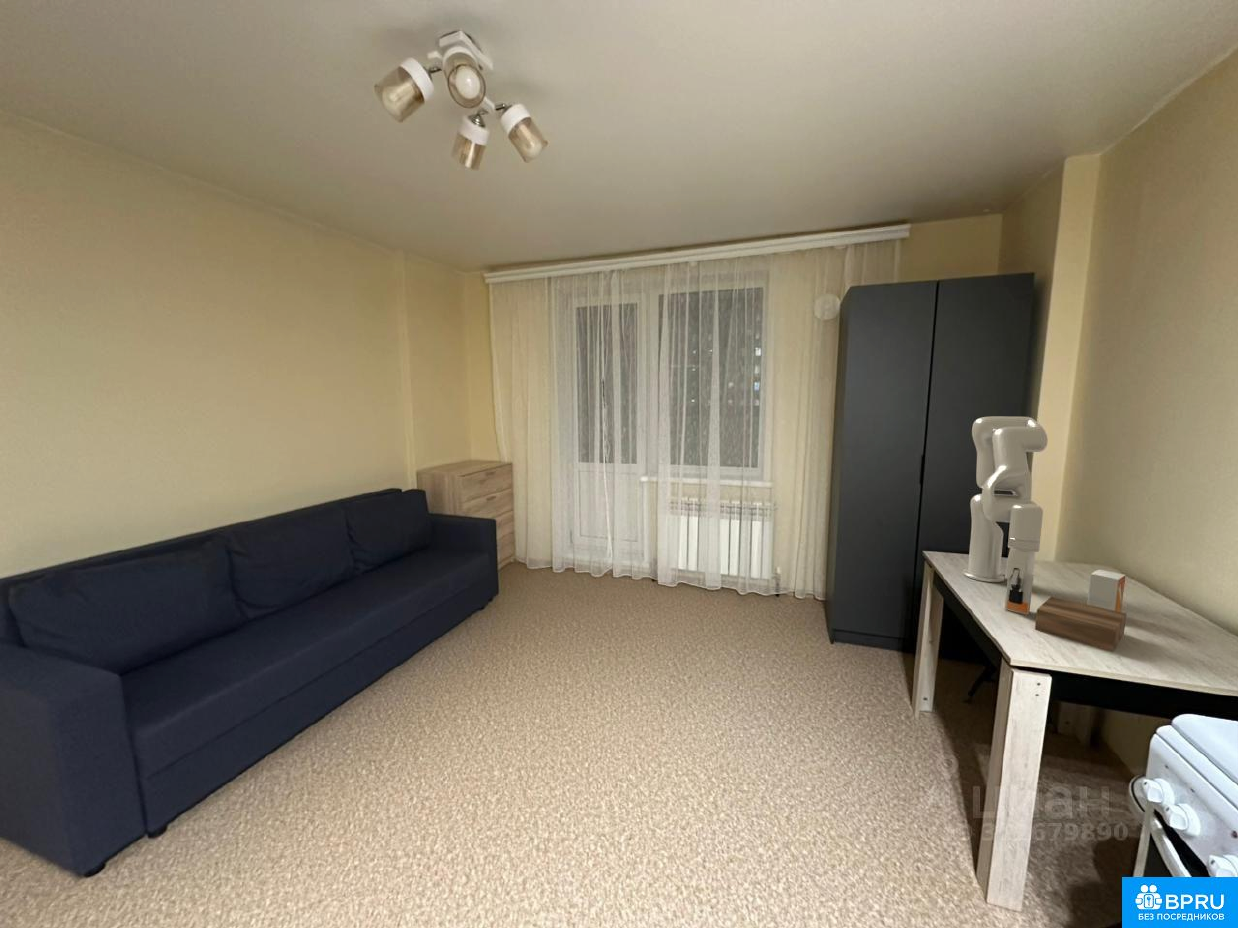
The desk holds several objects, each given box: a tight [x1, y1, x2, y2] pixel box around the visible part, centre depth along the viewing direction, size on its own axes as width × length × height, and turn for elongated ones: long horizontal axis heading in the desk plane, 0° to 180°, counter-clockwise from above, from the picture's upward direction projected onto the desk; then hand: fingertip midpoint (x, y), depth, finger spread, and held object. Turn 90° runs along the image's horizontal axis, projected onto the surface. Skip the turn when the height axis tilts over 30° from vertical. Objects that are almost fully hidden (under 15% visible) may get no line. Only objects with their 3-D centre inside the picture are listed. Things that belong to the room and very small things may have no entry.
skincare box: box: [1004, 574, 1035, 616], centre depth 152 cm, size 6×4×12 cm
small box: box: [1086, 568, 1127, 613], centre depth 148 cm, size 8×6×13 cm
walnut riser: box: [1034, 595, 1127, 652], centre depth 138 cm, size 16×16×6 cm
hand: (1018, 600), depth 152 cm, fingers closed on skincare box, 4 cm apart
